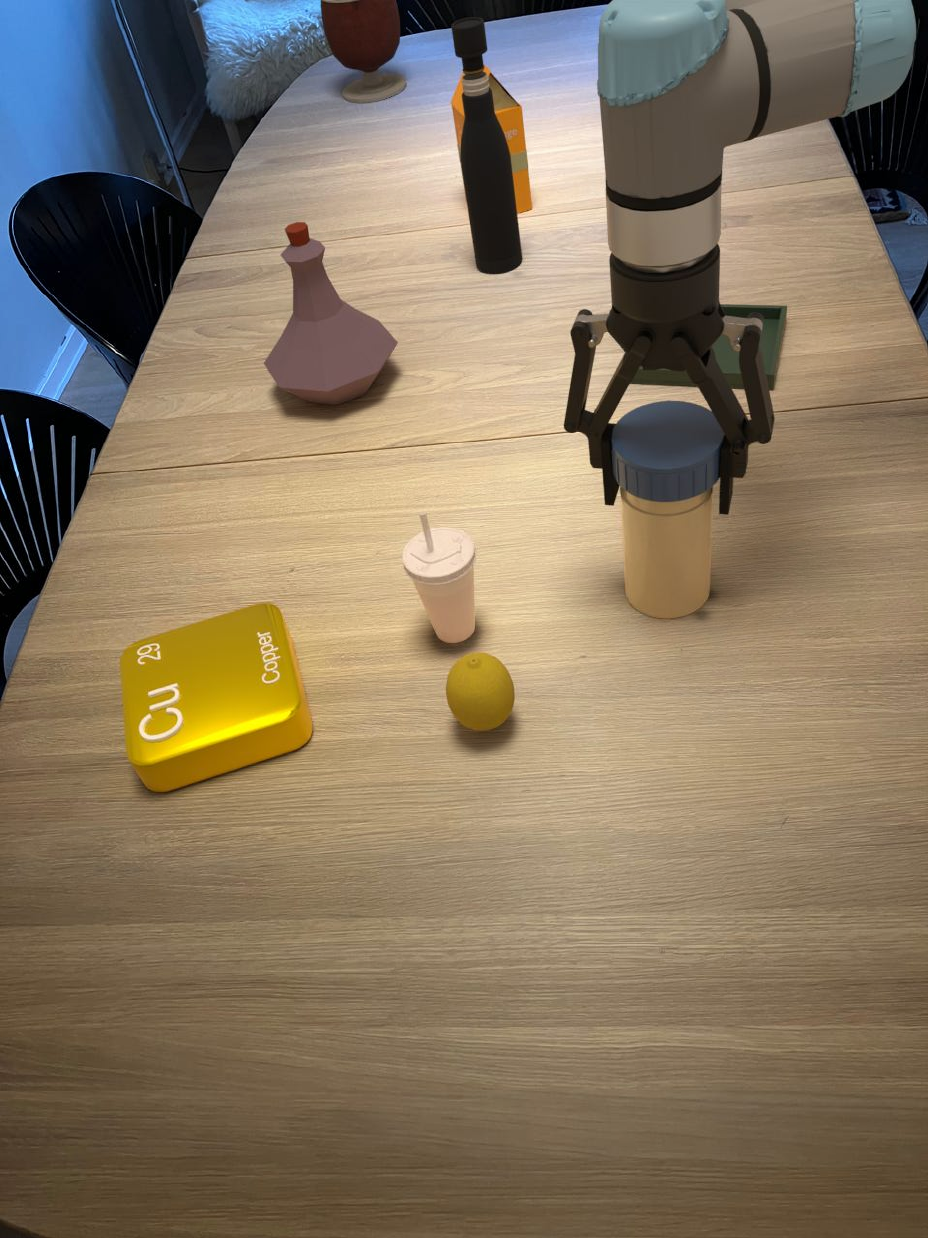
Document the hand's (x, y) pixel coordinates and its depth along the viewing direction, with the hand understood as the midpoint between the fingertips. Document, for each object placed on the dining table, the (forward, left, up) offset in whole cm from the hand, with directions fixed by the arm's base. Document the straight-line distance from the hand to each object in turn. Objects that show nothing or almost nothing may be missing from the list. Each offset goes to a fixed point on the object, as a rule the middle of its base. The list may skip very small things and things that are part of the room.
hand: (668, 499), depth 87 cm
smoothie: (+18, +8, -11) cm, 23 cm away
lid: (0, 0, +3) cm, 3 cm away
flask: (+45, -29, -11) cm, 55 cm away
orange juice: (+38, -76, -11) cm, 86 cm away
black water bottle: (+33, -59, -11) cm, 68 cm away
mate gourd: (+76, -123, -11) cm, 145 cm away
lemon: (+12, +18, -11) cm, 24 cm away
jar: (0, 0, -11) cm, 11 cm away
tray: (+2, -39, -11) cm, 40 cm away
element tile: (+36, +21, -11) cm, 43 cm away
